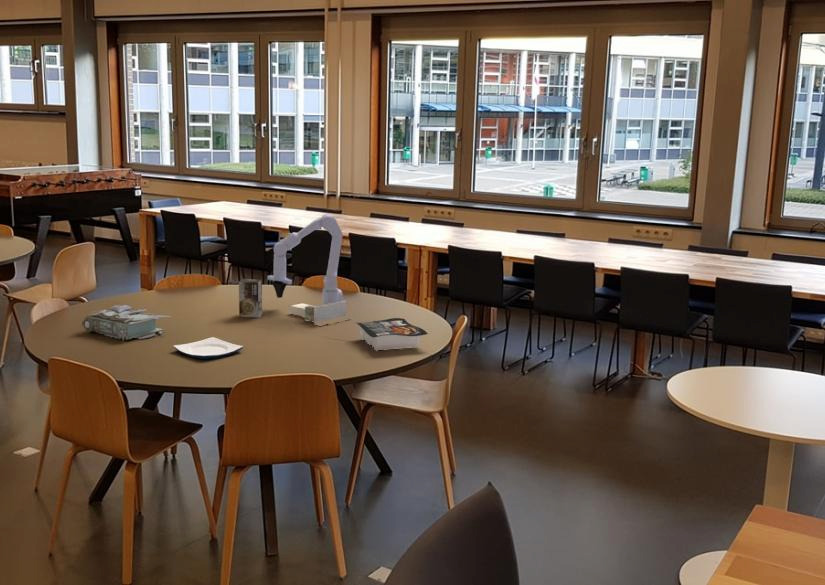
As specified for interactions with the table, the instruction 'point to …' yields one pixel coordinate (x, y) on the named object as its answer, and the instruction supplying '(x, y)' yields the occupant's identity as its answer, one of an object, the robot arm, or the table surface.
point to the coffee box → (250, 298)
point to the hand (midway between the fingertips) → (279, 297)
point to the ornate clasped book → (123, 323)
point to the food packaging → (390, 334)
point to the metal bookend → (329, 311)
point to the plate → (208, 348)
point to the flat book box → (298, 309)
